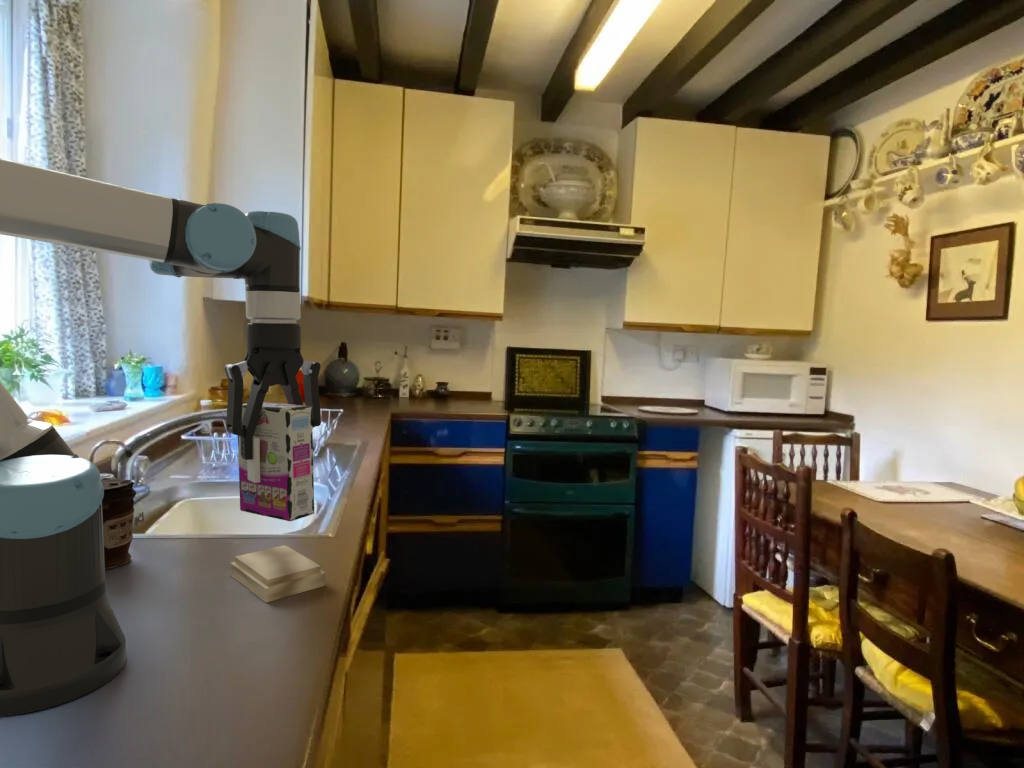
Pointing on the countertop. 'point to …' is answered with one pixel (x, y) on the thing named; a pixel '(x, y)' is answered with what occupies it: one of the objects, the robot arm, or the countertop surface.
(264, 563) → the plinth
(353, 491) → the countertop surface
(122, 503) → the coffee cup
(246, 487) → the candy bar box
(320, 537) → the countertop surface
